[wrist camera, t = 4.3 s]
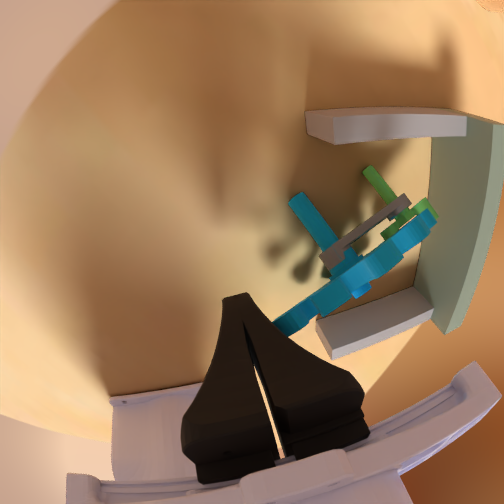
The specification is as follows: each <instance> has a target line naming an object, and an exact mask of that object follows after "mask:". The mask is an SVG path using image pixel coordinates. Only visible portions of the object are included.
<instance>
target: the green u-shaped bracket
mask: <svg viewBox="0 0 504 504" xmlns="http://www.w3.org/2000/svg"><path fill="white" fill-rule="evenodd" d="M305 119H306V128H307V134H308V135H311V136H313V137H316V138H319V139H321V140H324V141H326V142H329V143H331V144H333V145H339V144H347V143H356V142H366V141H377V140H389V139H402V138H420V137H432V154H431V171H430V184H429V194H428V201H429V203H430V204H431V206H432V207H433V208H434V210H435V211H436V213H437V214H438V216H439V217H438V218H437V219H436V221H437V223H436V224H435V225H434V226H433V227H432V228H431V229H430V231H431V233H430V234H429V235H428V236H427V237H426V238H425V239H424V240H422V245H421V250H420V256H419V261H418V266H417V271H416V276H415V280H414V285H413V286H412V287H410V288H407V289H404V290H402V291H399V292H397V293H394V294H391V295H389V296H386V297H383V298H381V299H378V300H375V301H372V302H370V303H367V304H364V305H361V306H358V307H355V308H352V309H350V310H347V311H344V312H341V313H338V314H335V315H331V316H328V317H325V318H322V319H319V320H316V332H317V334H318V336H319V338H320V340H321V341H322V343H323V345H324V347H325V349H326V351H327V353H328V355H329V357H330V358H331V360H334V359H337V358H340V357H342V356H345V355H348V354H350V353H353V352H356V351H358V350H361V349H363V348H366V347H369V346H371V345H373V344H376V343H378V342H381V341H383V340H386V339H388V338H390V337H393V336H395V335H397V334H399V333H402V332H404V331H406V330H408V329H410V328H413V327H415V326H417V325H419V324H421V323H423V322H425V321H427V320H429V319H431V320H432V321H433V322H434V323H435V325H436V326H437V327H438V328H439V329H440V331H441V332H442V333H443V334H444V335H446V334H447V333H449V332H451V331H453V330H454V329H456V328H458V327H460V326H461V324H462V322H463V319H464V317H465V315H466V312H467V310H468V307H469V305H470V303H471V300H472V297H473V295H474V292H475V289H476V287H477V284H478V281H479V278H480V275H481V272H482V269H483V266H484V263H485V259H486V256H487V253H488V249H489V245H490V242H491V238H492V234H493V231H494V226H495V222H496V218H497V213H498V208H499V203H500V198H501V192H502V187H503V180H504V124H502V123H499V122H496V121H493V120H490V119H486V118H483V117H480V116H476V115H472V114H469V113H465V112H461V111H457V110H453V109H445V108H428V107H357V108H338V109H325V110H313V111H305Z"/></svg>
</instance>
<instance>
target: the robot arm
mask: <svg viewBox="0 0 504 504" xmlns="http://www.w3.org/2000/svg"><path fill="white" fill-rule="evenodd" d="M222 305H223V306H222V307H223V308H222V320H221V326H220V332H219V337H218V341H217V345H216V349H215V352H214V356H213V359H212V361H211V364H210V367H209V369H208V372H207V374H206V377H205V379H204V381H203V382H202V383H197V384H192V385H187V386H182V387H176V388H171V389H165V390H159V391H152V392H146V393H139V394H131V395H124V396H115V397H110V398H109V403H110V404H111V405H112V406H113V419H112V446H111V447H112V448H111V450H112V451H111V463H112V470H113V475H114V478H115V481H104V480H99V479H97V478H96V477H94V476H92V475H87V474H76V473H67V479H66V504H413V503H412V500H411V498H410V496H409V494H408V493H407V491H406V488H405V486H404V484H403V483H402V480H401V478H400V475H401V474H403V473H405V472H407V471H408V470H410V469H412V468H413V467H415V466H417V465H418V464H420V463H422V462H423V461H425V460H426V459H428V458H429V457H431V456H432V455H433V454H435V453H437V452H438V451H440V450H441V449H443V448H444V447H446V446H447V445H448V444H449V443H451V442H452V441H454V440H455V439H457V438H458V437H459V436H461V435H462V434H463V433H465V432H466V431H467V430H469V429H470V428H471V427H472V426H474V425H475V424H476V423H477V422H479V421H480V420H481V419H482V418H483V417H484V415H486V414H487V413H488V412H489V410H490V409H491V408H492V407H493V406H494V405H495V404H496V403H497V402H498V401H499V399H500V398H501V397H502V395H501V394H500V392H499V391H498V389H497V388H496V387H495V386H494V384H493V383H492V382H491V380H490V379H489V377H488V376H487V375H486V374H485V372H484V371H483V370H482V368H481V367H480V366H479V365H478V363H477V362H476V361H473V362H472V363H470V364H469V365H467V366H466V367H464V368H463V369H462V370H460V371H459V372H458V373H457V374H456V375H455V376H454V377H453V379H452V381H451V383H450V384H448V385H446V386H445V387H444V388H442V389H440V390H438V391H437V392H435V393H434V394H432V395H430V396H429V397H427V398H425V399H423V400H422V401H420V402H418V403H416V404H414V405H413V406H411V407H409V408H407V409H405V410H403V411H401V412H399V413H398V414H396V415H394V416H392V417H390V418H387V419H385V420H383V421H381V422H379V423H377V424H375V425H373V426H370V427H368V426H367V424H366V423H365V420H364V414H363V412H362V410H361V405H362V402H363V399H364V394H365V392H364V391H363V389H362V387H361V385H360V384H359V383H358V381H357V380H356V379H355V378H354V376H353V375H352V374H351V373H350V372H349V371H346V370H344V369H341V368H339V367H337V366H334V365H332V364H330V363H328V362H326V361H324V360H322V359H320V358H318V357H317V356H315V355H313V354H312V353H310V352H308V351H307V350H305V349H303V348H302V347H301V346H299V345H298V344H296V343H295V342H294V341H292V340H291V339H290V338H288V337H287V336H286V335H285V334H284V333H282V332H281V331H280V330H279V329H278V328H277V327H276V326H275V325H274V324H273V323H272V322H271V321H270V320H269V319H268V318H267V317H266V316H265V315H264V314H263V313H262V311H261V310H260V309H259V308H258V306H257V305H256V304H255V303H254V301H253V300H252V298H251V296H250V295H249V293H247V292H245V293H242V294H238V295H234V296H230V297H226V298H224V299H223V300H222ZM254 366H255V368H256V371H257V373H258V376H259V378H260V380H261V383H262V386H263V388H264V391H265V394H266V398H267V401H268V404H269V407H270V411H271V414H272V417H273V420H274V424H275V427H276V430H277V433H278V436H279V440H280V443H281V446H282V449H283V452H284V455H285V458H282V459H280V456H279V452H278V448H277V444H276V440H275V437H274V433H273V429H272V425H271V422H270V419H269V416H268V412H267V409H266V406H265V403H264V400H263V397H262V394H261V391H260V387H259V384H258V381H257V378H256V374H255V369H254Z"/></svg>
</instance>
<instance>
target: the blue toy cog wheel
mask: <svg viewBox="0 0 504 504" xmlns="http://www.w3.org/2000/svg"><path fill="white" fill-rule="evenodd" d="M362 173H363V175H364V176H365V177H366V178H367V179H368V181H369V182H370V183H371V184H372V186H373V187H374V188H375V189H376V191H377V192H378V193H379V195H380V196H381V197H382V198H383V200H384V201H385V202H386V204H387V206H385V207H384V208H383V209H381V210H380V211H379V212H377V213H376V214H375V215H373V216H372V217H370V218H369V219H368V220H366V221H365V222H364V223H362V224H361V225H359V226H358V227H357V228H355V229H354V230H352V231H351V232H350V233H348V234H347V235H345V236H344V237H343V238H341V239H340V240H339V239H338V237H337V236H336V235H335V233H334V232H333V231H332V229H331V228H330V227H329V225H328V224H327V222H326V221H325V220H324V218H323V217H322V216H321V214H320V213H319V212H318V210H317V209H316V208H315V207H314V205H313V204H312V203H311V201H310V200H309V199H308V197H307V196H306V195H305V194H304V192H301V193H299V194H297V195H296V196H294V197H293V198H292V199H291V200H290V201H289V203H288V205H289V206H290V207H291V209H292V210H293V211H294V213H295V214H296V215H297V217H298V218H299V219H300V221H301V222H302V223H303V225H304V226H305V228H306V229H307V230H308V232H309V233H310V234H311V236H312V237H313V239H314V240H315V241H316V243H317V244H318V246H319V247H320V248H321V250H322V251H323V252H322V253H321V254H320V255H319V257H320V259H321V260H322V262H323V263H324V265H325V266H326V267H327V269H328V270H329V272H330V273H331V275H332V276H331V277H330V278H329V279H330V280H331V281H330V282H328V283H327V284H325V285H324V286H323V287H322V288H320V289H319V290H317V291H316V292H314V293H313V294H311V295H310V296H308V297H307V298H305V299H304V300H303V301H301V302H300V303H298V304H297V305H295V306H294V307H293V308H291V309H290V310H288V311H287V312H285V313H284V314H282V315H281V316H279V317H278V318H276V319H275V320H274V321H273V322H272V323H273V324H274V325H275V326H276V327H277V328H278V329H279V330H280V331H281V332H282V333H284V334H285V335H286V336H287V337H289V336H290V335H292V334H294V333H296V332H297V331H299V330H300V329H302V328H303V327H305V326H306V325H307V324H308V323H309V320H310V319H312V318H313V317H314V316H316V315H317V314H318V313H320V314H321V316H322V317H325V316H326V315H328V314H329V313H331V312H332V311H334V310H335V309H337V308H338V307H340V306H341V305H342V304H344V303H345V302H346V301H348V300H349V299H350V298H351V297H352V295H353V296H354V298H355V299H357V298H359V297H360V296H362V295H363V294H365V293H366V292H367V291H369V290H370V289H371V288H372V286H371V285H370V283H369V281H371V280H373V279H377V278H379V277H381V276H383V275H384V274H386V273H387V272H388V271H389V270H391V269H392V268H393V267H394V266H395V265H396V264H397V263H399V262H400V261H401V260H402V259H403V258H404V257H403V255H402V254H404V253H405V252H406V251H408V250H409V249H411V248H412V247H414V246H415V245H417V244H418V243H420V242H421V241H422V240H424V239H425V238H426V237H427V236H428V235H429V234H430V233H431V231H430V229H431V228H432V227H433V226H434V225H435V224H436V223H437V221H436V219H437V218H438V217H439V216H438V214H437V213H436V211H435V210H434V208H433V207H432V206H431V204H430V203H429V201H428V200H427V199H426V197H425V198H424V199H422V200H421V201H420V202H419V203H417V204H416V205H415V206H414V207H413V208H412V209H409V208H408V207H409V206H410V205H411V204H412V203H411V202H410V200H409V199H408V198H407V196H406V195H405V194H404V193H403V194H402V195H400V196H399V197H397V196H396V195H395V193H394V192H393V191H392V190H391V188H390V187H389V186H388V184H387V183H386V182H385V181H384V179H383V178H382V177H381V176H380V175H379V173H378V172H377V171H376V170H375V168H374V167H373V166H372V165H370V166H368V167H367V168H366V169H365V170H364V171H363V172H362ZM415 215H417V216H416V217H415V218H413V219H412V220H411V221H410V222H408V223H407V224H406V225H405V226H403V227H402V228H401V229H400V230H399V228H400V227H401V226H402V225H404V224H405V223H406V222H407V221H409V220H410V219H411V218H412V217H414V216H415ZM386 218H388V219H389V221H391V220H393V219H394V218H395V220H396V221H395V222H394V223H393V224H391V225H390V226H389V227H388V228H386V229H385V230H384V231H383V232H381V233H380V234H381V236H382V237H383V238H384V240H385V241H384V242H382V243H381V244H380V245H379V246H378V247H376V248H375V249H374V250H372V251H371V252H370V253H368V254H366V255H365V256H364V257H363V255H362V254H361V255H360V256H358V255H357V254H356V252H355V251H354V249H353V248H352V247H351V245H350V244H352V243H353V242H355V241H356V240H357V239H359V238H360V237H361V236H363V235H364V234H365V233H367V232H368V231H370V230H371V229H372V228H374V227H375V226H376V225H378V224H379V223H380V222H382V221H383V220H384V219H386ZM351 294H352V295H351Z"/></svg>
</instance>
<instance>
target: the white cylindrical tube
mask: <svg viewBox="0 0 504 504" xmlns="http://www.w3.org/2000/svg"><path fill="white" fill-rule="evenodd" d="M476 1H477V2H478V3H479V4H480V5H481V6H482V7H483V8H485V9H486V10H488V11H491V12H502V13H504V0H476Z"/></svg>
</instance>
